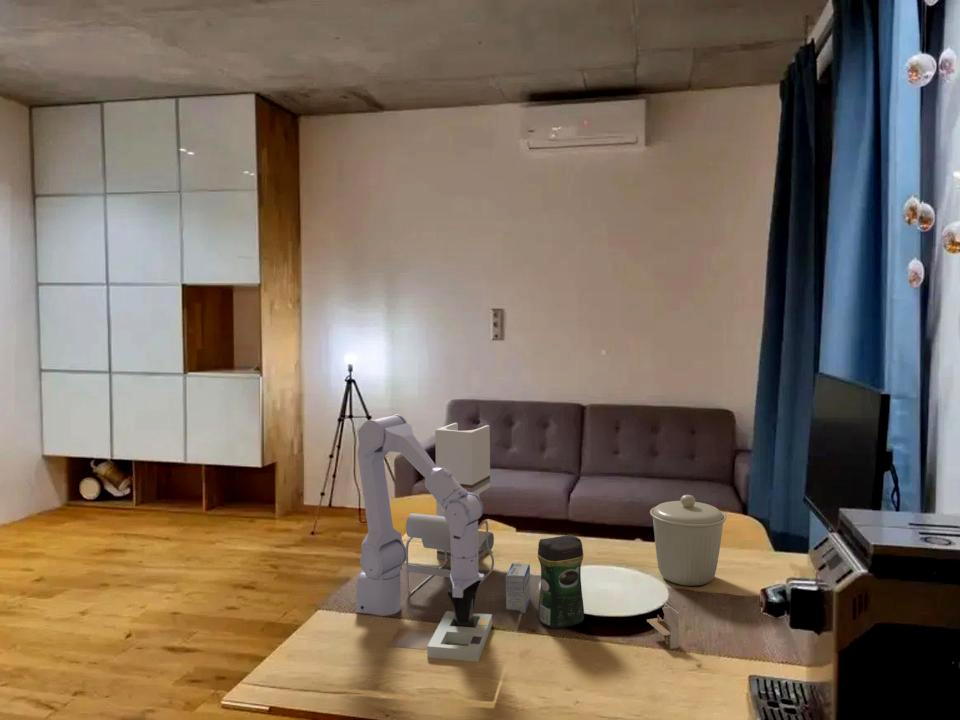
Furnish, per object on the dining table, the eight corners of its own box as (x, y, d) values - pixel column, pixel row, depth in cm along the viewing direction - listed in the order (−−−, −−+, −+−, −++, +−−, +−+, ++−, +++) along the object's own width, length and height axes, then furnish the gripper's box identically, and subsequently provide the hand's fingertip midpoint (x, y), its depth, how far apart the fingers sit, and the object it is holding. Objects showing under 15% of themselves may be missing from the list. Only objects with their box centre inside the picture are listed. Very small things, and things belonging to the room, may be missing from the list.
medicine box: (525, 614, 163) (525, 576, 162) (505, 612, 164) (505, 575, 163) (530, 599, 170) (530, 563, 170) (511, 598, 171) (511, 562, 170)
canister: (696, 561, 194) (697, 483, 192) (740, 587, 177) (742, 501, 175) (635, 570, 188) (636, 489, 186) (675, 597, 171) (677, 508, 169)
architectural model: (663, 652, 146) (664, 616, 145) (646, 636, 153) (647, 602, 152) (679, 649, 147) (679, 613, 146) (661, 634, 154) (662, 600, 153)
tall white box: (472, 563, 193) (471, 432, 190) (437, 558, 198) (435, 429, 195) (490, 550, 204) (489, 425, 201) (456, 544, 208) (455, 422, 205)
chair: (405, 598, 172) (404, 516, 170) (447, 562, 195) (446, 489, 193) (458, 607, 167) (457, 522, 165) (495, 568, 190) (494, 494, 189)
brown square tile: (387, 650, 147) (387, 646, 147) (399, 632, 154) (399, 628, 154) (426, 653, 145) (426, 649, 145) (436, 634, 153) (436, 631, 153)
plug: (453, 631, 151) (452, 598, 150) (455, 623, 155) (454, 590, 154) (473, 631, 151) (472, 598, 150) (474, 622, 155) (473, 590, 154)
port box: (427, 661, 142) (427, 646, 142) (446, 624, 158) (446, 610, 157) (478, 665, 140) (478, 650, 140) (492, 628, 156) (492, 614, 156)
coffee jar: (570, 609, 165) (571, 528, 163) (589, 624, 157) (589, 539, 156) (532, 617, 161) (532, 534, 159) (549, 632, 154) (549, 546, 152)
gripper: (477, 567, 144) (477, 634, 145) (489, 543, 158) (490, 604, 159) (441, 565, 145) (442, 632, 146) (457, 541, 159) (458, 602, 160)
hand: (465, 617), depth 153 cm, fingers closed on plug, 4 cm apart
